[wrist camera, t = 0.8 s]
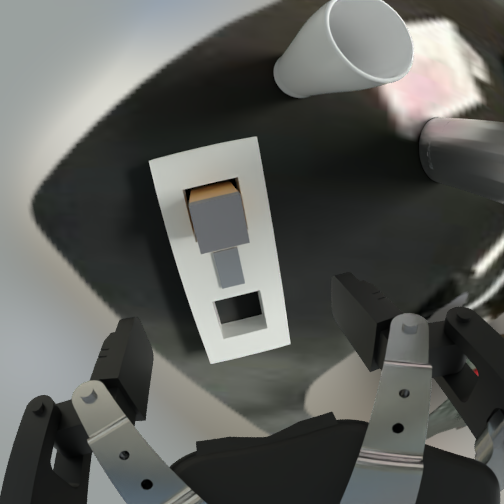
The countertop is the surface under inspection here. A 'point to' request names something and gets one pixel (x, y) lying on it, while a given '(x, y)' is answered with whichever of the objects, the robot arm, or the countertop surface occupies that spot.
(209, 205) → the plug
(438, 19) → the countertop surface
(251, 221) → the pdu strip
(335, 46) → the drinking glass
